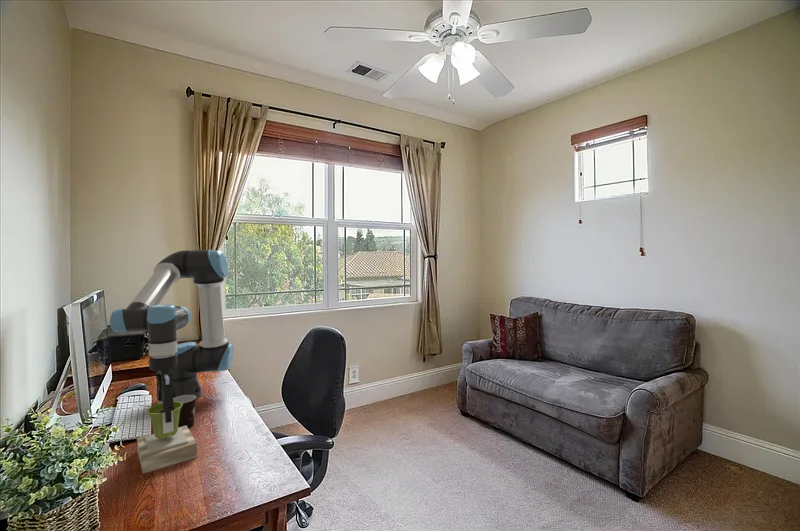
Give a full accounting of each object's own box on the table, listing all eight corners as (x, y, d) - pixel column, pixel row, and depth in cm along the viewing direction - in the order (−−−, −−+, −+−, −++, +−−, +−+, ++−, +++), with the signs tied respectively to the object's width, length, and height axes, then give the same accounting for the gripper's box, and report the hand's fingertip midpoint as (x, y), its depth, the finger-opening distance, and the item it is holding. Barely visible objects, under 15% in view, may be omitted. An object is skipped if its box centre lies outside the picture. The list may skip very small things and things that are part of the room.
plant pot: (158, 444, 115) (157, 415, 115) (142, 436, 120) (141, 409, 120) (189, 432, 123) (188, 404, 123) (173, 425, 128) (172, 399, 128)
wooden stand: (137, 451, 123) (136, 436, 123) (186, 438, 132) (186, 423, 132) (142, 473, 111) (142, 456, 111) (197, 457, 120) (196, 441, 120)
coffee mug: (185, 432, 136) (184, 404, 136) (164, 430, 138) (163, 403, 138) (207, 418, 148) (207, 392, 147) (188, 417, 149) (187, 391, 149)
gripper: (145, 350, 127) (147, 417, 128) (153, 365, 109) (156, 443, 110) (171, 346, 131) (173, 411, 132) (183, 360, 114) (186, 435, 115)
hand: (165, 426), depth 121 cm, fingers closed on plant pot, 9 cm apart
